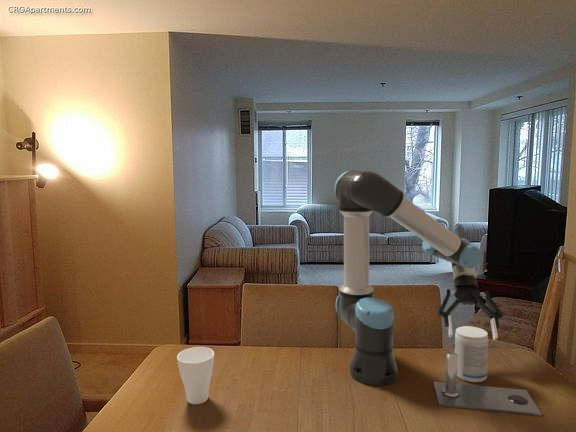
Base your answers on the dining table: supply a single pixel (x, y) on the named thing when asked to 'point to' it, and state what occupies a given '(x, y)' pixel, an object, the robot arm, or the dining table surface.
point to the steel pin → (451, 375)
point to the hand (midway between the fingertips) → (473, 337)
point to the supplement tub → (471, 353)
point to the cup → (196, 372)
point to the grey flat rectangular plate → (488, 399)
